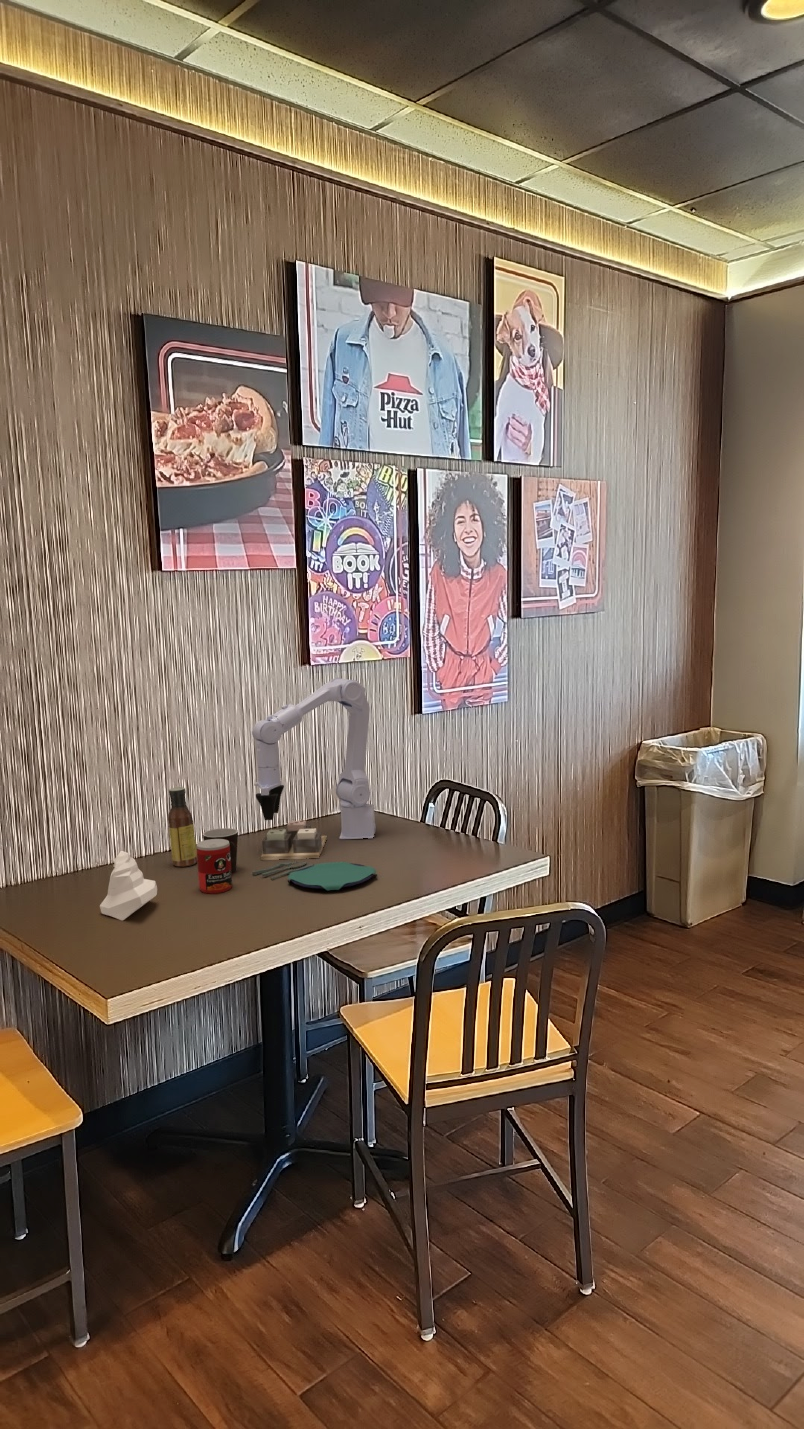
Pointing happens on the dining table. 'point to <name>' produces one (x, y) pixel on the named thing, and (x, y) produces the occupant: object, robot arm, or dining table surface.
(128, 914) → the soft serve ice cream
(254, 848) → the dining table surface
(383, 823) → the dining table surface
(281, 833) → the tile two
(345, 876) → the cutlery set
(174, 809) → the sauce bottle
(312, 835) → the tile one
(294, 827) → the tile three
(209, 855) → the canned food
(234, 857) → the coffee mug
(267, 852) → the console
